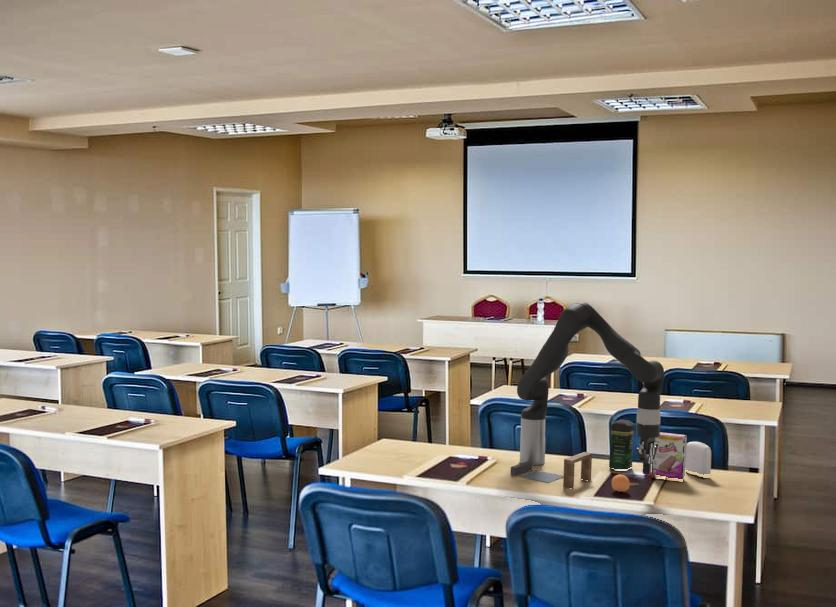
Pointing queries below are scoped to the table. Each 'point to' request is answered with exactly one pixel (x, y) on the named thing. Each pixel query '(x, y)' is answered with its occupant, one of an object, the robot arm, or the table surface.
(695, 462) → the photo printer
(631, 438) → the coffee jar
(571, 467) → the bridge
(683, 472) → the candy bar box
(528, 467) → the stopper bar
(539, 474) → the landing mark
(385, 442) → the table surface
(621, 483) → the ball
